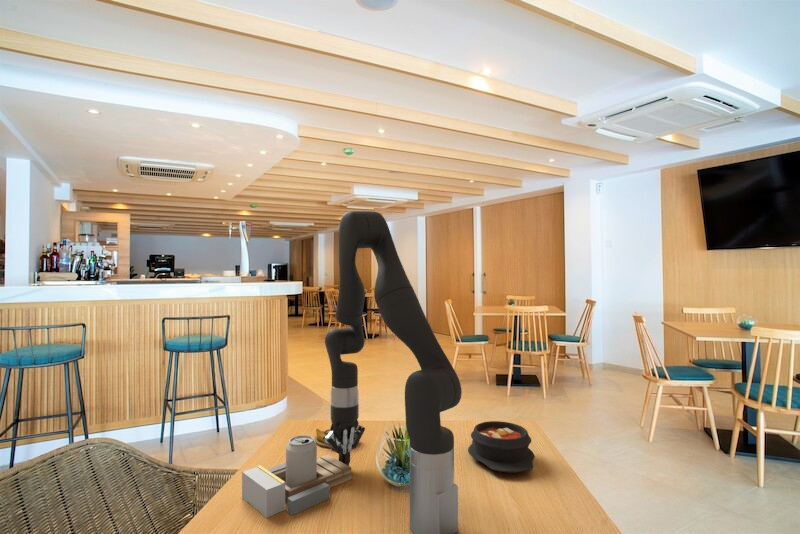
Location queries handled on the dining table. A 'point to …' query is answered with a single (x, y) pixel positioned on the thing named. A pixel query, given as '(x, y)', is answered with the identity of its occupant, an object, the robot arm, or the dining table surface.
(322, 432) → the toy sandwich meal
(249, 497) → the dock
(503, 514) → the dining table surface
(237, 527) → the dining table surface
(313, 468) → the can
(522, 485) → the dining table surface
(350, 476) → the pallet
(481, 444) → the casserole
